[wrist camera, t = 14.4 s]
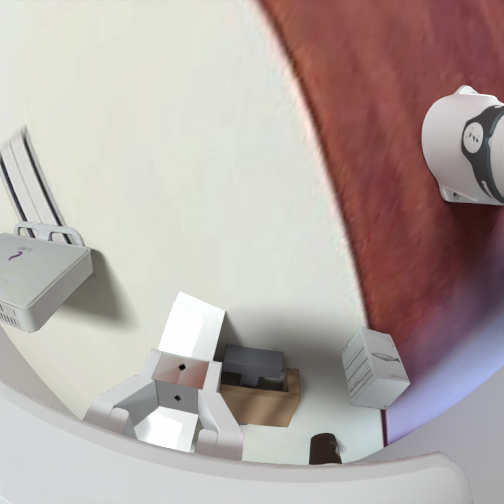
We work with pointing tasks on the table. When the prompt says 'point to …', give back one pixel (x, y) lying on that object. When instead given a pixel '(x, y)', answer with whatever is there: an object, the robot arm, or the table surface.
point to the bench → (263, 402)
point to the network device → (39, 274)
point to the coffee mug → (324, 450)
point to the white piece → (190, 345)
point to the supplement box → (373, 369)
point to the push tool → (252, 364)
